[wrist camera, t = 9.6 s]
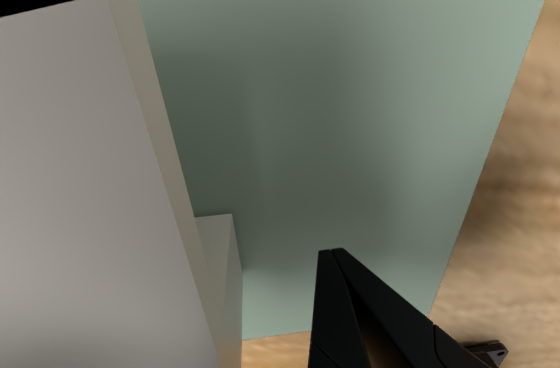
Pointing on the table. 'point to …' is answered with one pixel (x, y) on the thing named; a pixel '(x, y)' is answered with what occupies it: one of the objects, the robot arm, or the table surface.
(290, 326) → the board
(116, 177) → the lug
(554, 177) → the table surface
